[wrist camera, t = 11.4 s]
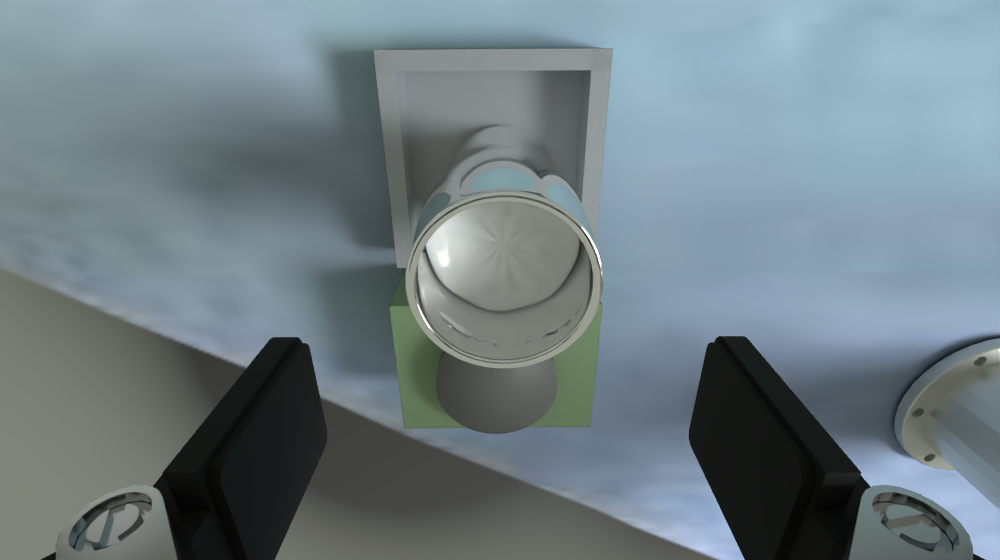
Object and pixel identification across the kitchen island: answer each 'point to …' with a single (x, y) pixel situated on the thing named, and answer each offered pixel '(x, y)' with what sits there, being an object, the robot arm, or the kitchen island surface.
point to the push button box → (428, 156)
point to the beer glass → (503, 256)
